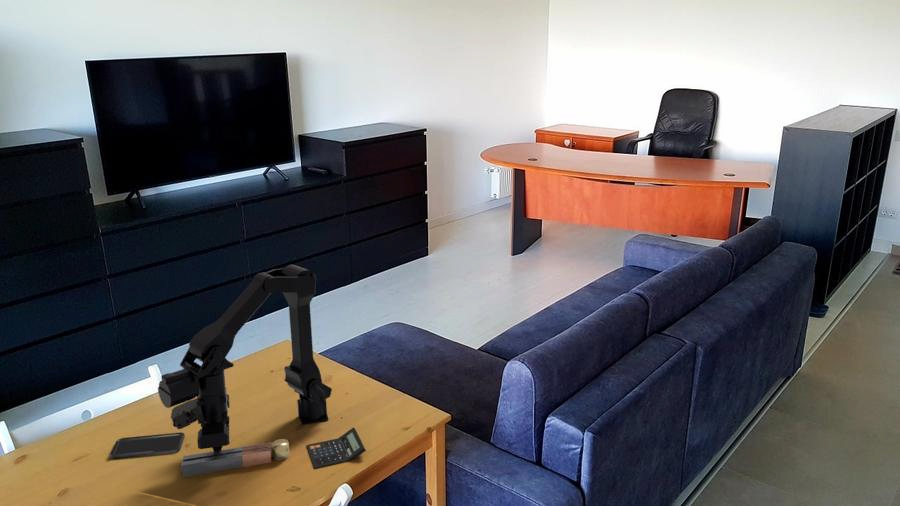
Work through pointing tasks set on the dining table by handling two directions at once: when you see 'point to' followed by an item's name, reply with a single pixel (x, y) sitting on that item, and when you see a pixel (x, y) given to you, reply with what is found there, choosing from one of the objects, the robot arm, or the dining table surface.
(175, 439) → the phone
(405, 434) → the dining table surface
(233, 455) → the bar
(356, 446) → the calculator
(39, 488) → the dining table surface
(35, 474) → the dining table surface
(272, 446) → the arm
